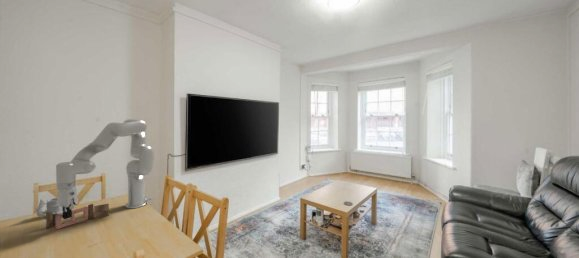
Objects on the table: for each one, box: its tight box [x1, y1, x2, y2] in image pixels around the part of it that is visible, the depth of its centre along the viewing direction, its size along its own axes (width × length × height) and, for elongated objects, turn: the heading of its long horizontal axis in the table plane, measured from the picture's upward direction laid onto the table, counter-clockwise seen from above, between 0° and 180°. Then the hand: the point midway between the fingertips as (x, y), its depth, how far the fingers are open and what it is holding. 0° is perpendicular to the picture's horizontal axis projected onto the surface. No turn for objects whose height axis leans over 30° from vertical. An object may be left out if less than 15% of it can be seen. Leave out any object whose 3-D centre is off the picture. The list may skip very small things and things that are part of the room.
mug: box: [35, 197, 63, 218], centre depth 135 cm, size 8×12×12 cm, turn 162°
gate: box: [55, 206, 88, 230], centre depth 127 cm, size 14×2×7 cm, turn 156°
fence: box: [45, 203, 110, 230], centre depth 131 cm, size 26×4×8 cm, turn 133°
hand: (67, 217), depth 122 cm, fingers closed
